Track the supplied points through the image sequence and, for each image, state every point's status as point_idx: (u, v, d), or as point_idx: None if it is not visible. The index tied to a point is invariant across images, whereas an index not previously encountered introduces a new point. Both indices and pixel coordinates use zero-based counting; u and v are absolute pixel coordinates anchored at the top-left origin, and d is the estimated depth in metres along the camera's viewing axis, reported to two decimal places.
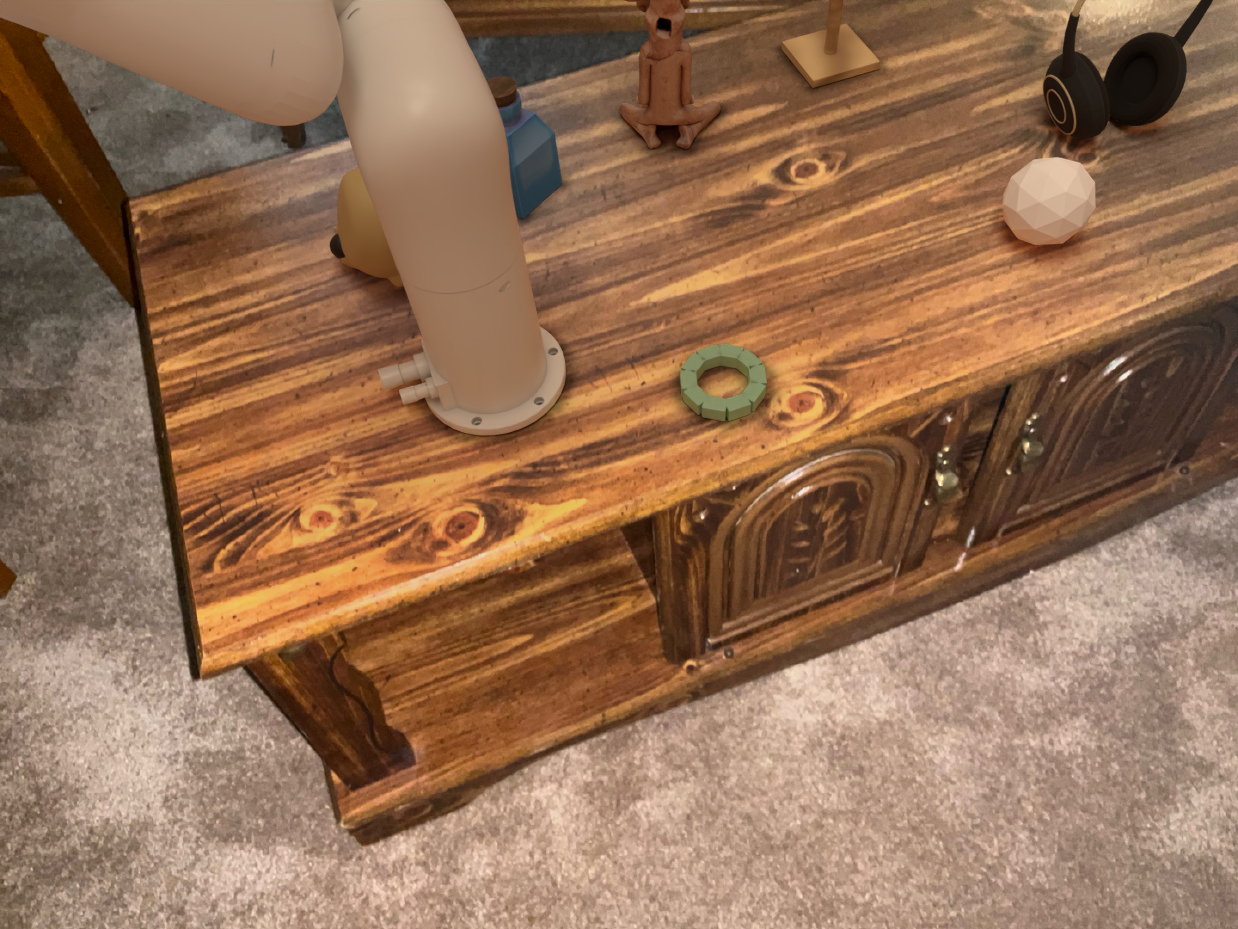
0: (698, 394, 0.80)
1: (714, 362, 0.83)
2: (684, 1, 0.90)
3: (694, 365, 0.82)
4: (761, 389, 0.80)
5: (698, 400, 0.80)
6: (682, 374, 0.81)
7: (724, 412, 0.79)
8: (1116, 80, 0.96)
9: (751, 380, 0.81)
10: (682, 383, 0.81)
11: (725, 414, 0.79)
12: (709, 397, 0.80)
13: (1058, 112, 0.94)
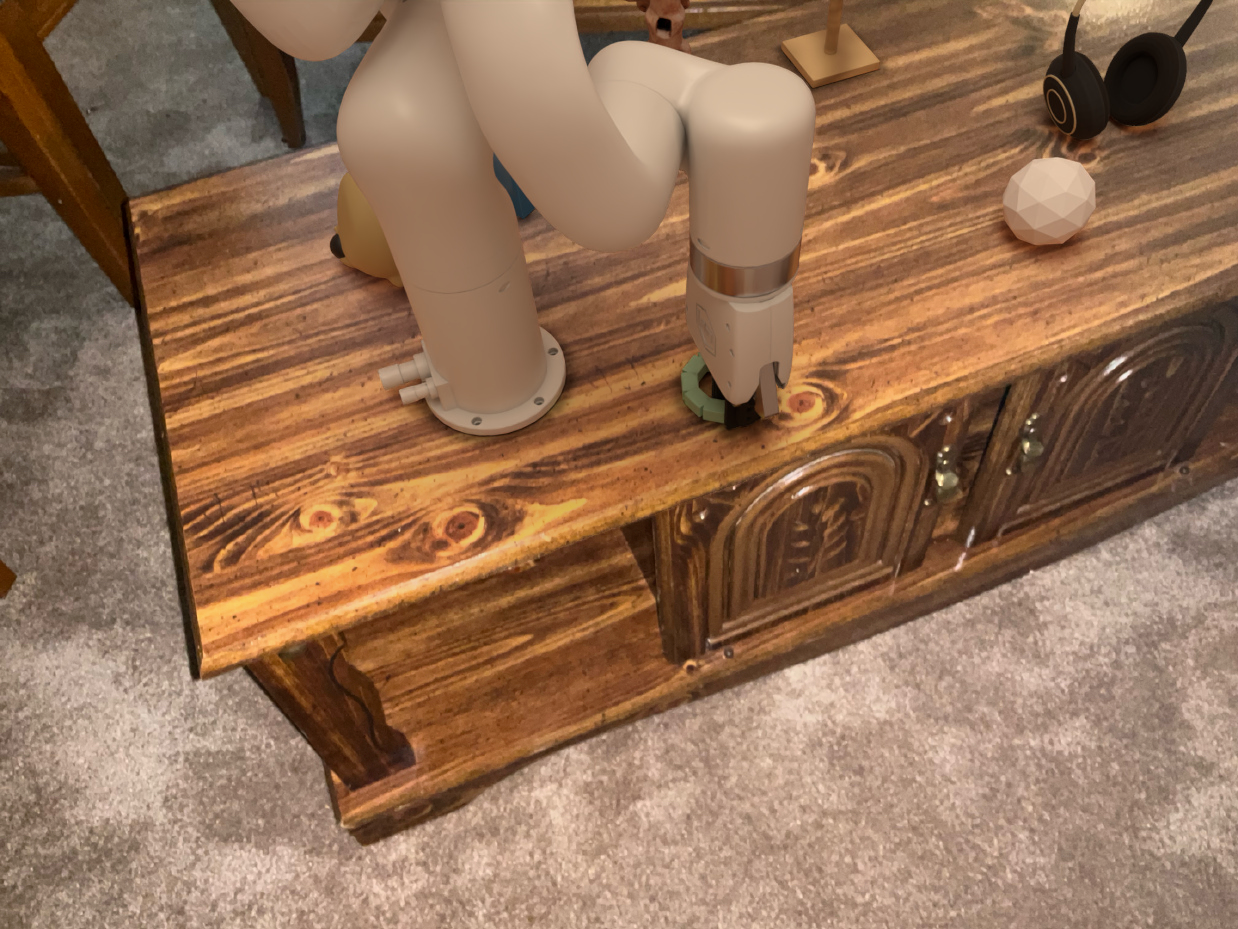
0: (699, 396, 0.80)
1: None
2: (684, 1, 0.90)
3: (695, 367, 0.82)
4: None
5: (699, 402, 0.80)
6: (683, 376, 0.81)
7: None
8: (1116, 80, 0.96)
9: None
10: (683, 385, 0.81)
11: None
12: (710, 399, 0.80)
13: (1058, 112, 0.94)
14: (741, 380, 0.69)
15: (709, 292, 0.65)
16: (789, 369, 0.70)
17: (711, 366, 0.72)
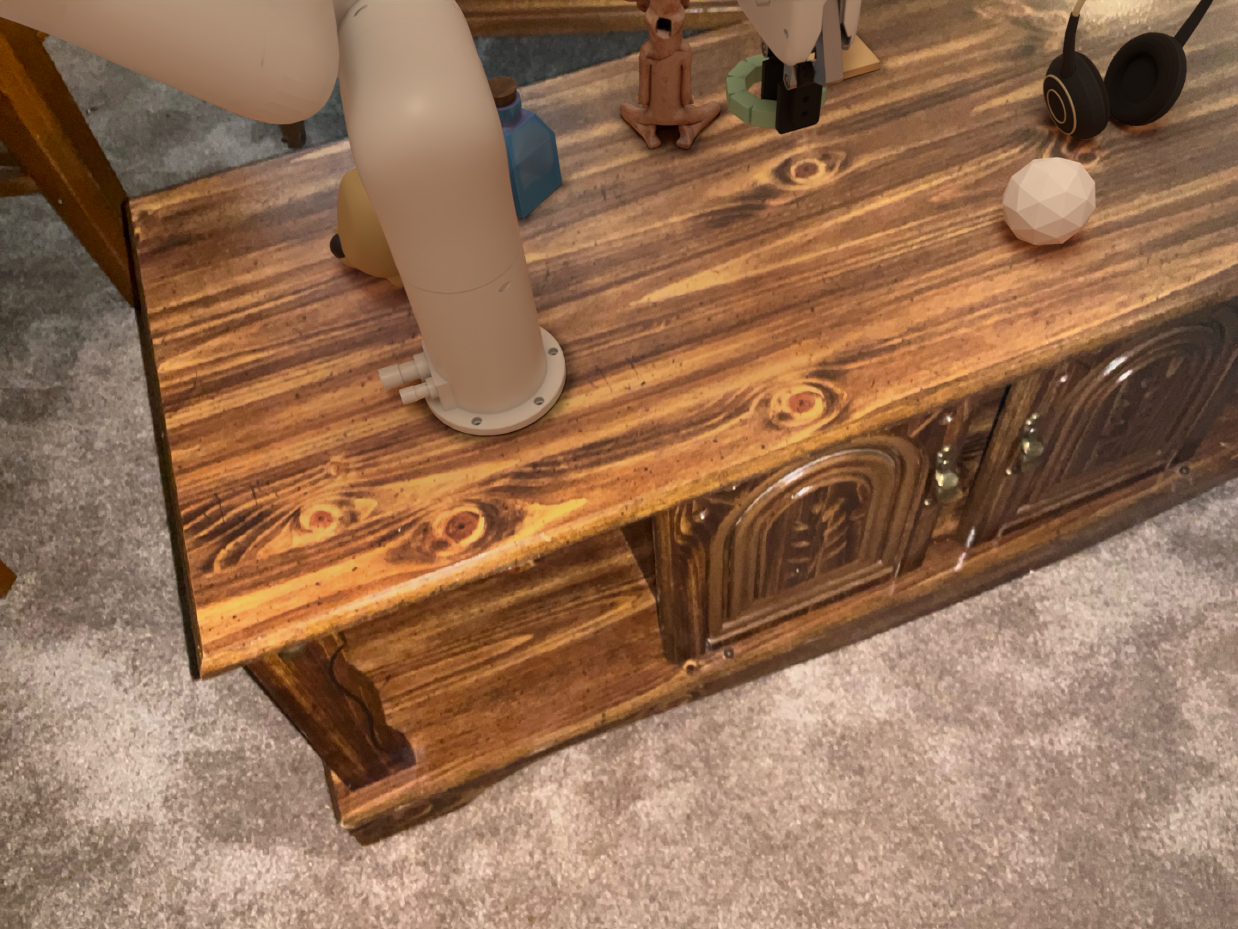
0: (747, 98, 0.69)
1: None
2: (684, 1, 0.90)
3: (743, 71, 0.71)
4: None
5: (748, 103, 0.69)
6: (729, 80, 0.71)
7: None
8: (1116, 80, 0.96)
9: None
10: (729, 88, 0.70)
11: None
12: (760, 100, 0.69)
13: (1058, 112, 0.94)
14: (801, 20, 0.58)
15: None
16: (857, 14, 0.59)
17: (764, 26, 0.62)
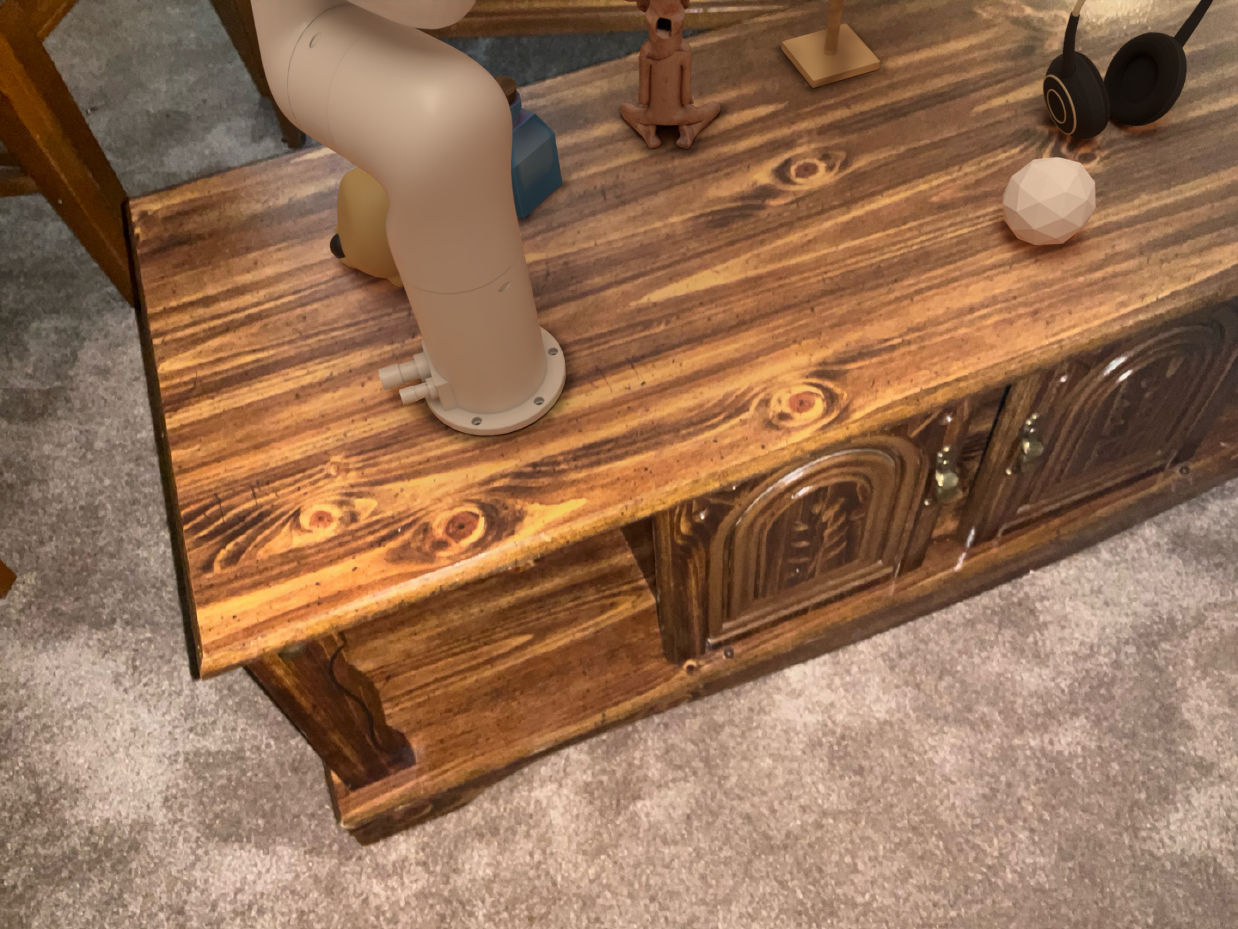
0: None
1: None
2: (684, 1, 0.90)
3: None
4: None
5: None
6: None
7: None
8: (1116, 80, 0.96)
9: None
10: None
11: None
12: None
13: (1058, 112, 0.94)
14: None
15: None
16: None
17: None
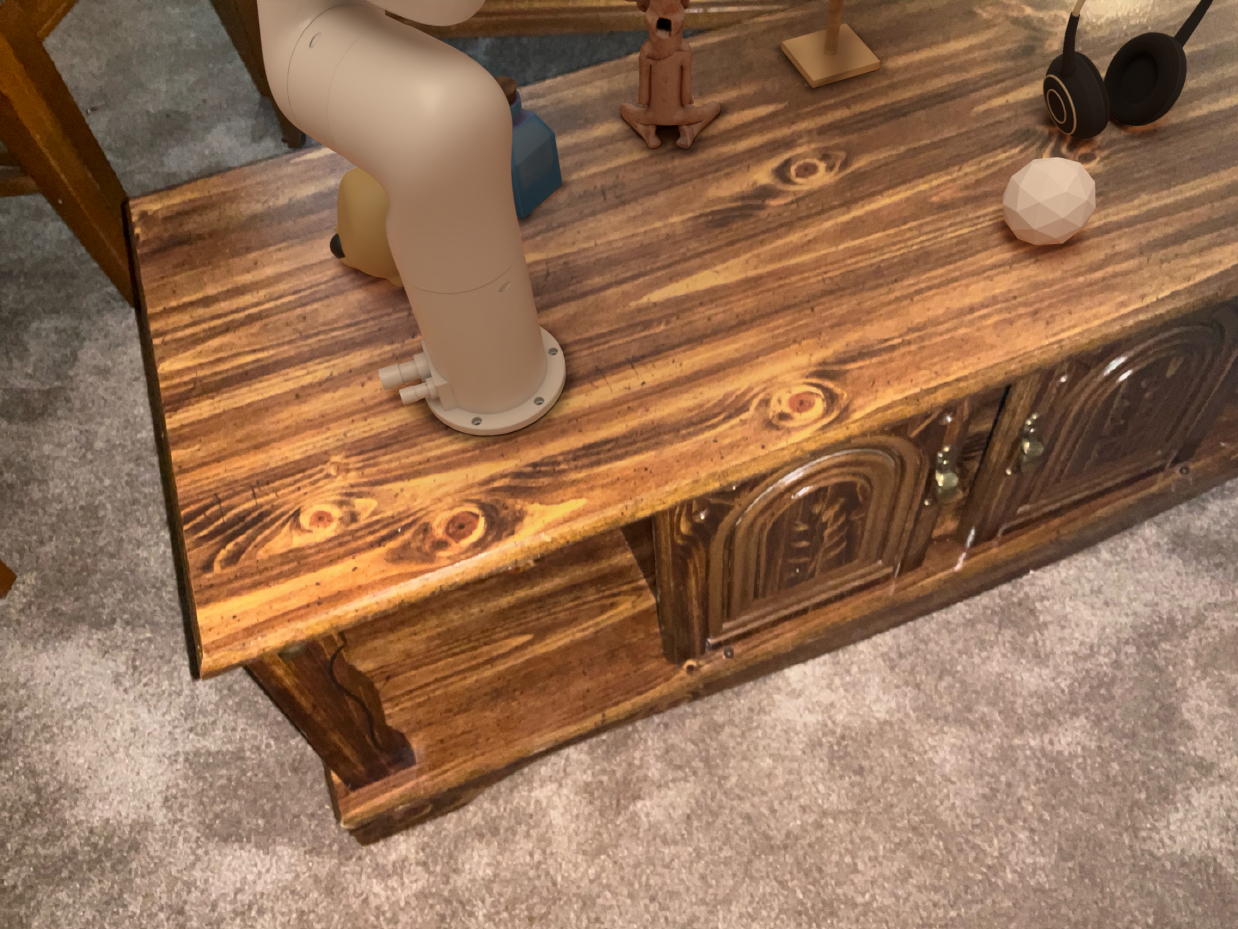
0: None
1: None
2: (684, 1, 0.90)
3: None
4: None
5: None
6: None
7: None
8: (1116, 80, 0.96)
9: None
10: None
11: None
12: None
13: (1058, 112, 0.94)
14: None
15: None
16: None
17: None
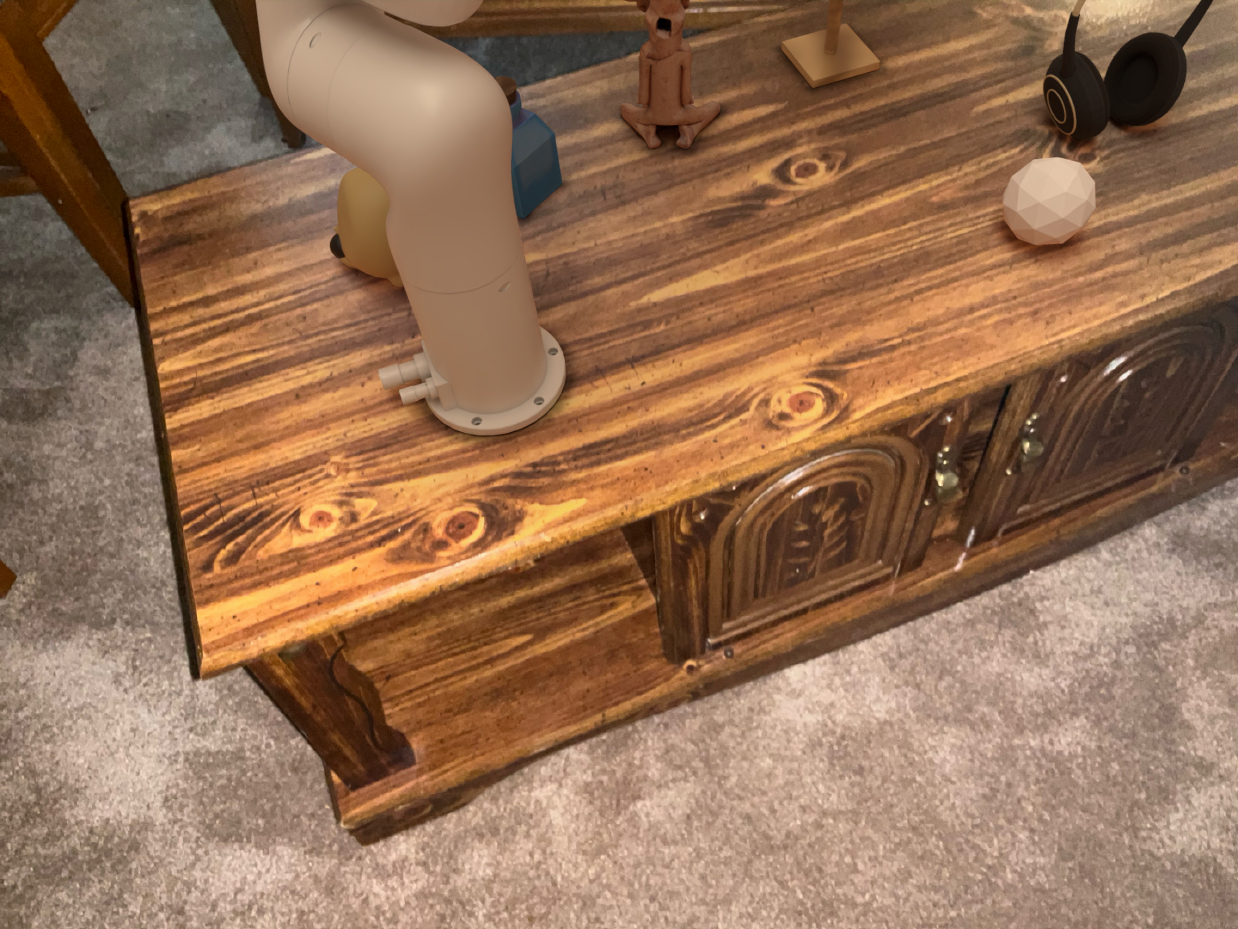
0: None
1: None
2: (684, 1, 0.90)
3: None
4: None
5: None
6: None
7: None
8: (1116, 80, 0.96)
9: None
10: None
11: None
12: None
13: (1058, 112, 0.94)
14: None
15: None
16: None
17: None
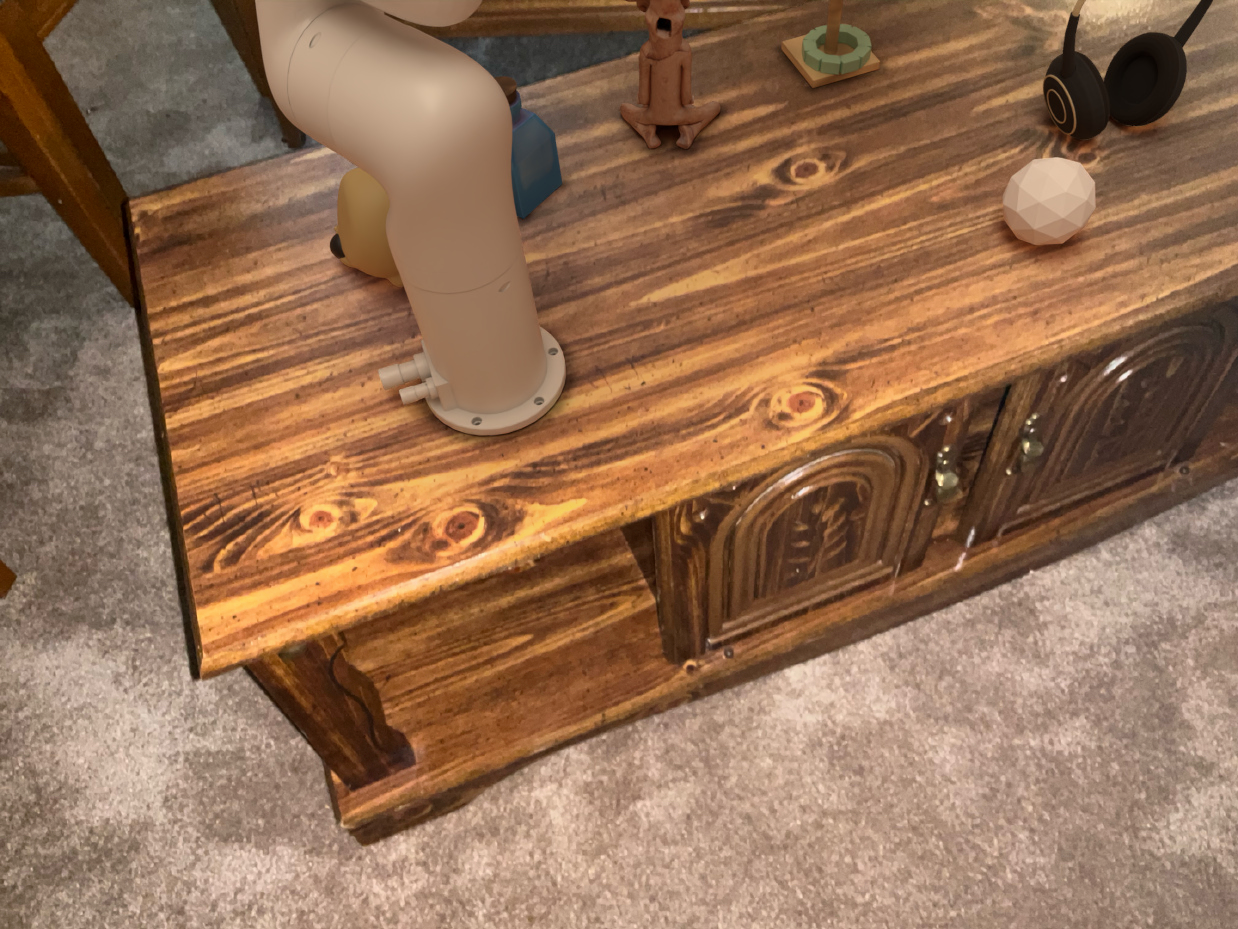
0: (818, 53, 1.03)
1: None
2: (684, 1, 0.90)
3: (813, 36, 1.05)
4: (867, 49, 1.03)
5: (818, 57, 1.03)
6: (804, 42, 1.05)
7: (839, 64, 1.02)
8: (1116, 80, 0.96)
9: (859, 44, 1.04)
10: (805, 47, 1.04)
11: (839, 67, 1.03)
12: (827, 55, 1.03)
13: (1058, 112, 0.94)
14: None
15: None
16: None
17: None
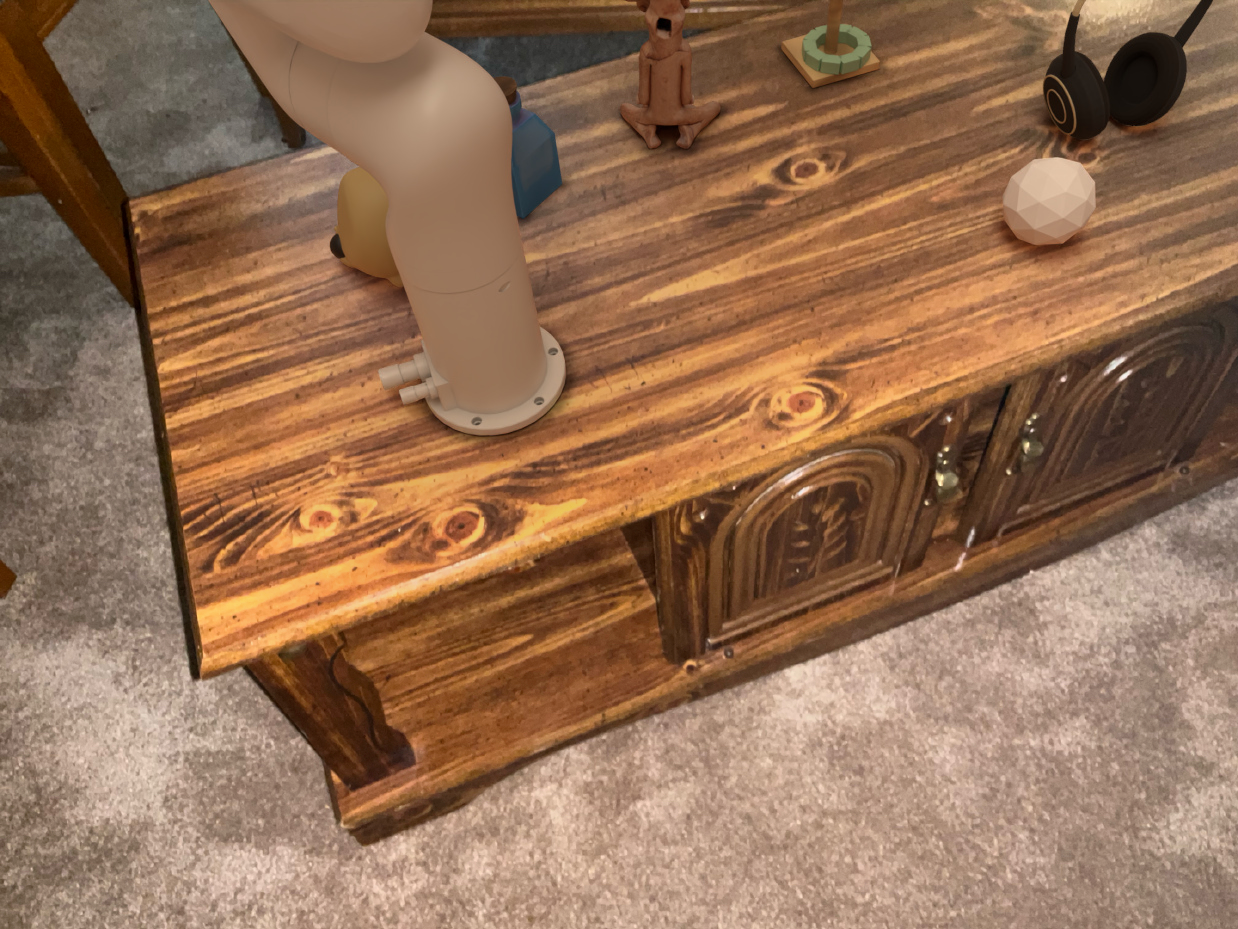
0: (818, 53, 1.03)
1: None
2: (684, 1, 0.90)
3: (813, 36, 1.05)
4: (867, 49, 1.03)
5: (818, 57, 1.03)
6: (804, 42, 1.05)
7: (839, 64, 1.02)
8: (1116, 80, 0.96)
9: (859, 44, 1.04)
10: (805, 47, 1.04)
11: (839, 67, 1.03)
12: (827, 55, 1.03)
13: (1058, 112, 0.94)
14: None
15: None
16: None
17: None
